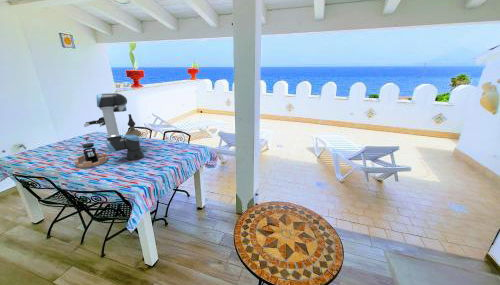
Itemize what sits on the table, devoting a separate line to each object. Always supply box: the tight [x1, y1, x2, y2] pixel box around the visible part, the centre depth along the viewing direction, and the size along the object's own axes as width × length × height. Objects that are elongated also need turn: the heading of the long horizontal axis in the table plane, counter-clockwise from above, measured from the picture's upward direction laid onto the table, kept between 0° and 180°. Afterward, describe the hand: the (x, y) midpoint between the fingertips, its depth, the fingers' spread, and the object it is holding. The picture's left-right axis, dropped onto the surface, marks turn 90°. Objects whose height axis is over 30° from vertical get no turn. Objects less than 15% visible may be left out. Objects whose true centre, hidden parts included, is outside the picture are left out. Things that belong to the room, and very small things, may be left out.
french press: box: [81, 137, 98, 163], centre depth 186 cm, size 12×9×23 cm
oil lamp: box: [124, 114, 143, 152], centre depth 213 cm, size 15×15×40 cm
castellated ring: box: [74, 151, 108, 169], centre depth 190 cm, size 24×24×6 cm
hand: (92, 125), depth 194 cm, fingers open, 13 cm apart
